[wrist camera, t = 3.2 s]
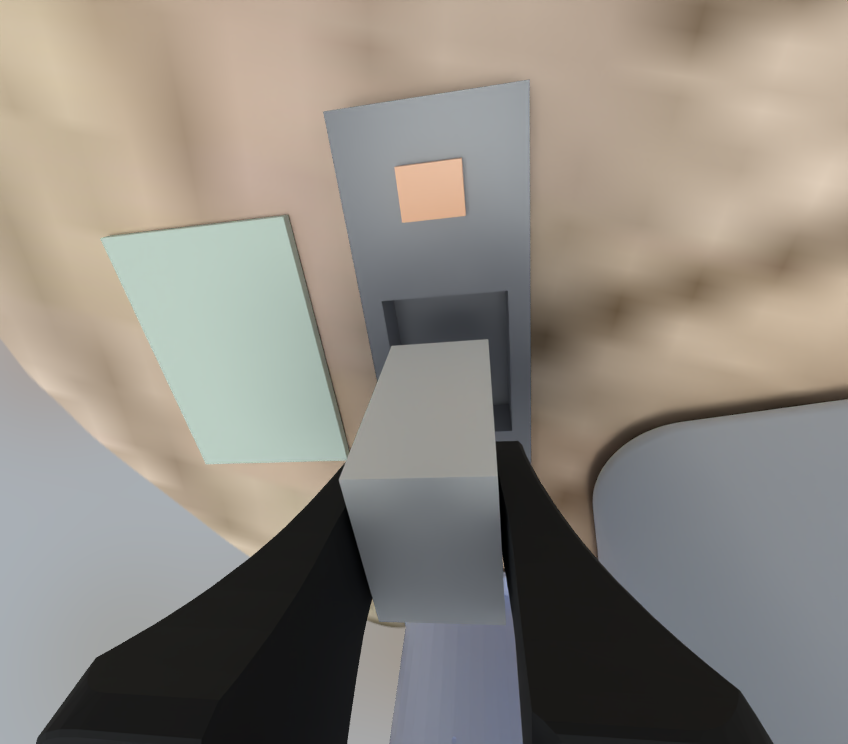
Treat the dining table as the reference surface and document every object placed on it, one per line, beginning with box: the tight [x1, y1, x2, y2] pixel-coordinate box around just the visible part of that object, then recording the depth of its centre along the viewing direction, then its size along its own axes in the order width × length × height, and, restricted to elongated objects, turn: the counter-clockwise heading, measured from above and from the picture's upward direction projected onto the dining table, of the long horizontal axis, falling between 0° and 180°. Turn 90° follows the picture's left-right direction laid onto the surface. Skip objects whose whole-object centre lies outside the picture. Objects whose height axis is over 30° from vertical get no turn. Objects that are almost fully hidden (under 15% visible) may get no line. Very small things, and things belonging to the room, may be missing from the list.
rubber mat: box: [100, 215, 350, 464], centre depth 20 cm, size 12×8×1 cm, turn 7°
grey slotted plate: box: [323, 80, 531, 464], centre depth 17 cm, size 18×6×3 cm, turn 7°
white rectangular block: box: [339, 339, 506, 625], centre depth 12 cm, size 4×3×6 cm, turn 7°
